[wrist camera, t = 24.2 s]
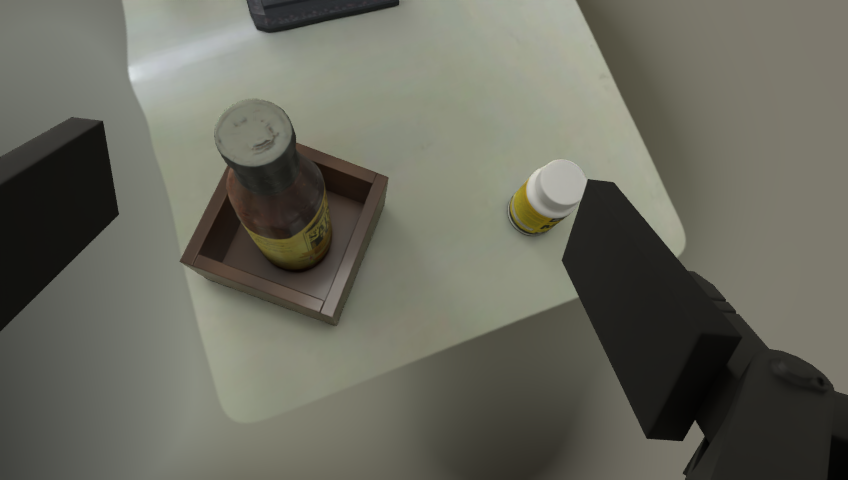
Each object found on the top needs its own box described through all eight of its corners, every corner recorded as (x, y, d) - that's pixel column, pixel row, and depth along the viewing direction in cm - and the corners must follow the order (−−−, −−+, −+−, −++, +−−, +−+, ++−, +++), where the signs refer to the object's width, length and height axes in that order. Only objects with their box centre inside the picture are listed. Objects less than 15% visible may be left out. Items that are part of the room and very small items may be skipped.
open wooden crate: (384, 204, 49) (388, 177, 42) (336, 326, 46) (332, 317, 39) (263, 158, 49) (247, 124, 42) (205, 278, 45) (179, 261, 39)
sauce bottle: (334, 272, 46) (317, 198, 27) (260, 275, 45) (188, 201, 26) (332, 201, 47) (315, 83, 28) (261, 203, 47) (193, 82, 28)
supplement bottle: (532, 246, 50) (566, 221, 42) (496, 211, 50) (523, 180, 42) (564, 213, 51) (603, 183, 43) (529, 179, 51) (561, 143, 43)
